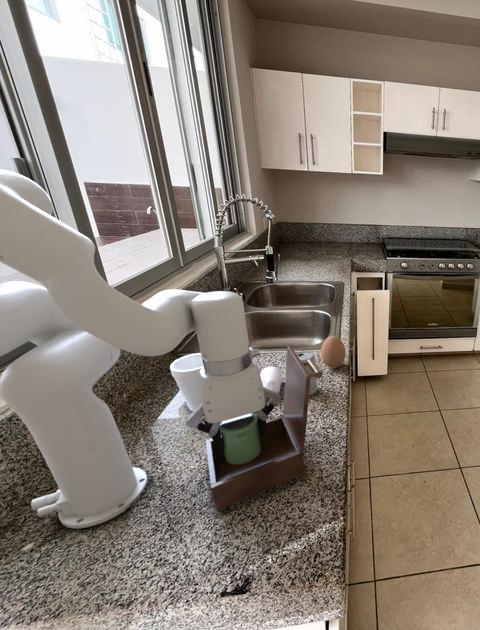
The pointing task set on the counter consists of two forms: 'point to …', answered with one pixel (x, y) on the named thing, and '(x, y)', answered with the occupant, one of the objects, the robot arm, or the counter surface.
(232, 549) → the counter surface
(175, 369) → the foam cup
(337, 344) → the egg
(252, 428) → the pot
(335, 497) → the counter surface
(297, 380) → the lid
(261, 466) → the chest
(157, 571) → the counter surface
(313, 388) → the energy drink
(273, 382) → the roll
